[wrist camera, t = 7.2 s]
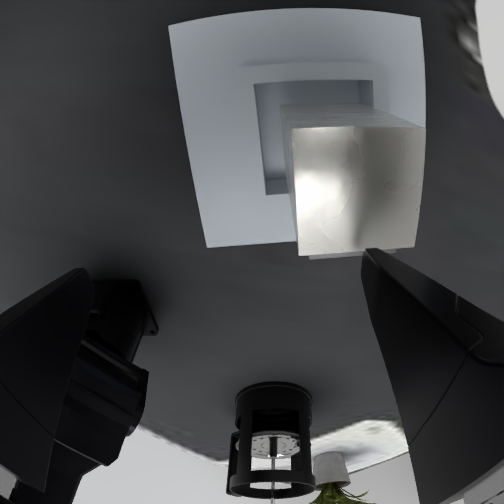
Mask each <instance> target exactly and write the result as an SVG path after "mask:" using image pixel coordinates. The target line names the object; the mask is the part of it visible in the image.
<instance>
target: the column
mask: <svg viewBox="0 0 504 504" xmlns="http://www.w3.org/2000/svg"><path fill="white" fill-rule="evenodd" d="M280 115H281V125H282V136H283V147H284V159H285V171H286V181H287V187H288V193H289V198H290V204H291V210H292V216H293V222H294V228H295V234H296V241H297V247H298V254H299V256H304V255H309V259H322V258H335V257H348V256H360V255H363V251H364V249H366V248H379V249H380V250H382V251H384V252H386V253H396V248H407V247H414V245H415V239H416V233H417V226H418V219H419V211H420V203H421V194H422V184H423V173H424V160H425V141H426V128H424V127H421V126H419V125H417V124H414V123H412V122H409V121H407V120H404V119H402V118H399V117H397V116H394V115H392V114H389V113H386V112H384V111H381V110H378V109H375V108H372V107H370V106H367V105H364V104H361V103H358V102H339V103H304V104H287V105H280Z"/></svg>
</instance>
